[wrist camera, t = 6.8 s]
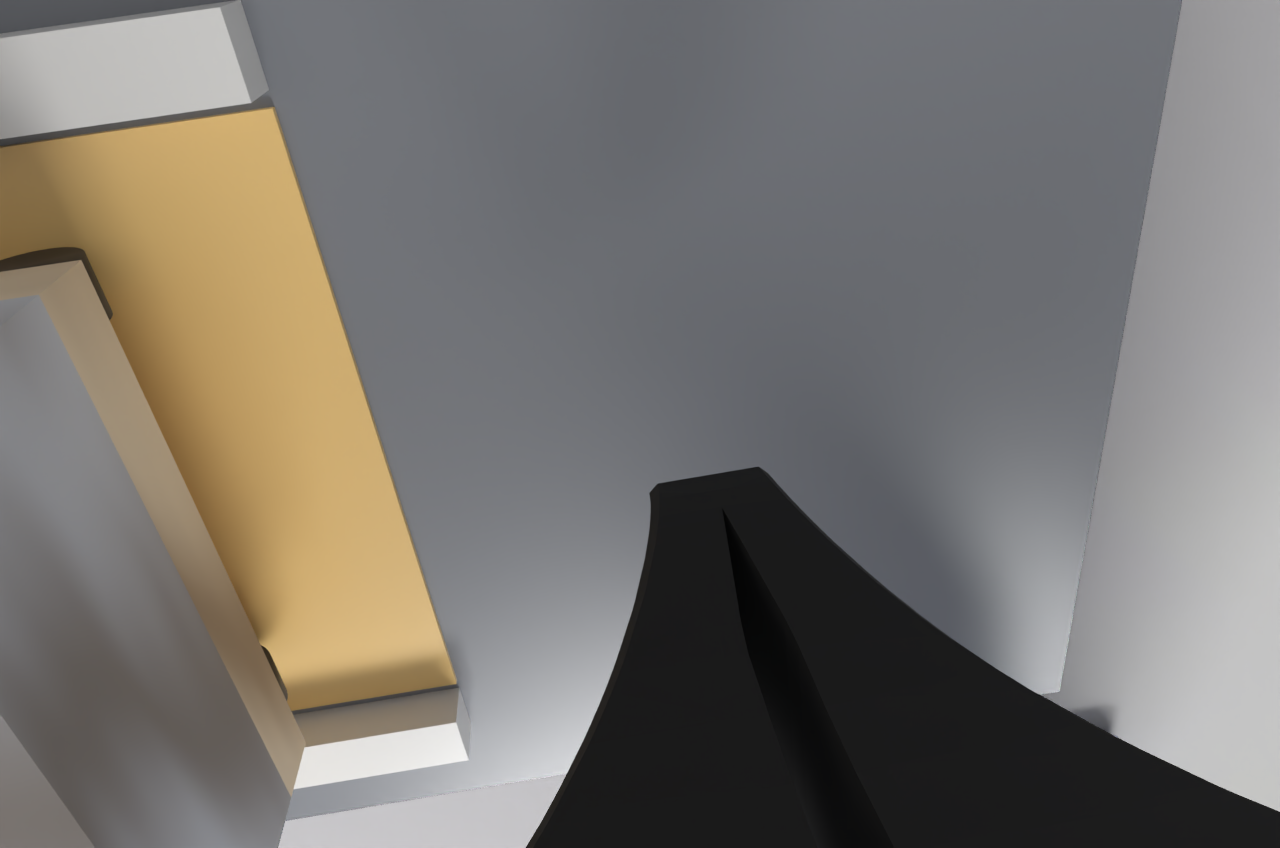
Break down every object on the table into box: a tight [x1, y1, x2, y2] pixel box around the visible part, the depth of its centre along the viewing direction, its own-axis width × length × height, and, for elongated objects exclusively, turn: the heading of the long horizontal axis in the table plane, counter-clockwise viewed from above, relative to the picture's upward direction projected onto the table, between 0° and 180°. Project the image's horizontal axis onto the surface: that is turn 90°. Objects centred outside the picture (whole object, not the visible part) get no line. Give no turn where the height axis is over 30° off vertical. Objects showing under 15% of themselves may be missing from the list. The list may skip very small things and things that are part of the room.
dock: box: [0, 0, 1182, 821], centre depth 14 cm, size 16×22×3 cm
